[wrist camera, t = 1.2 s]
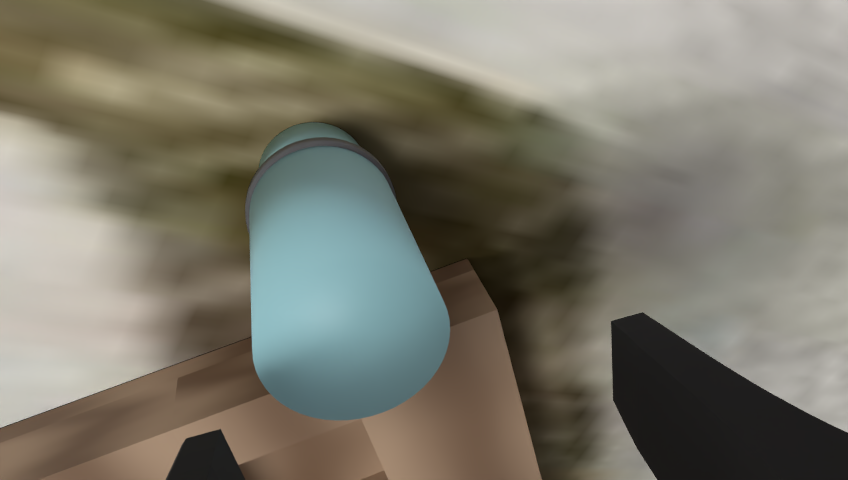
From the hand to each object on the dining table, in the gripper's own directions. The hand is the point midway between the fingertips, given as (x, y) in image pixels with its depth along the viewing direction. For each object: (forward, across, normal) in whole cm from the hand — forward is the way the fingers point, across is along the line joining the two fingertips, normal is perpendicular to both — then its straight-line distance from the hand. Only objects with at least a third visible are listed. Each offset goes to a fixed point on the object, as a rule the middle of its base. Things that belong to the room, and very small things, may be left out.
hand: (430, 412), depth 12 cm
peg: (+11, +1, 0) cm, 11 cm away
